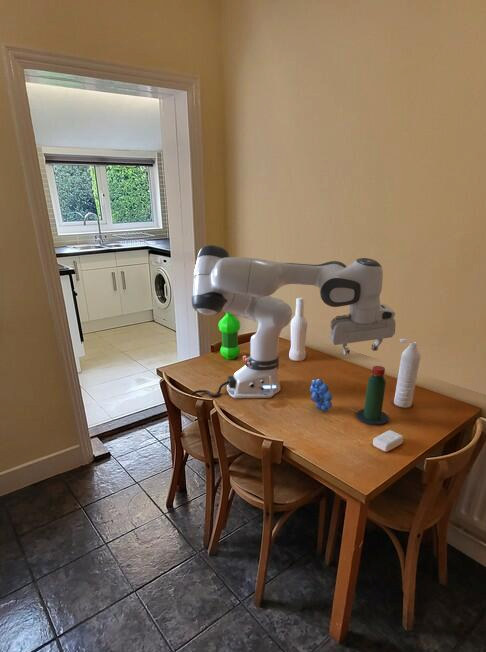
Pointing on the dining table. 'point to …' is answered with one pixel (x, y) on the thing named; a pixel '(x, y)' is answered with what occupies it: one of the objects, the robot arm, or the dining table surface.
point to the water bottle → (407, 375)
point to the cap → (378, 371)
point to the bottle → (298, 333)
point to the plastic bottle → (229, 336)
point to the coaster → (381, 421)
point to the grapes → (321, 395)
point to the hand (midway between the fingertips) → (360, 351)
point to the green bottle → (374, 397)
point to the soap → (388, 440)
